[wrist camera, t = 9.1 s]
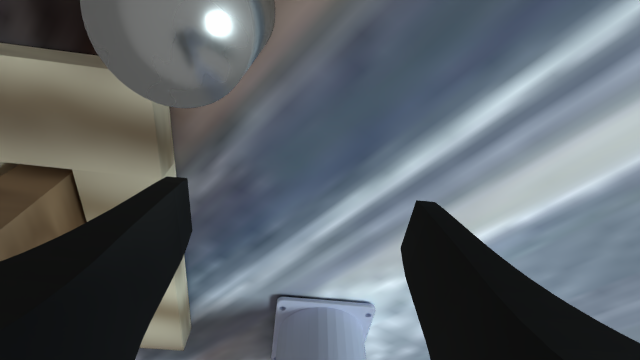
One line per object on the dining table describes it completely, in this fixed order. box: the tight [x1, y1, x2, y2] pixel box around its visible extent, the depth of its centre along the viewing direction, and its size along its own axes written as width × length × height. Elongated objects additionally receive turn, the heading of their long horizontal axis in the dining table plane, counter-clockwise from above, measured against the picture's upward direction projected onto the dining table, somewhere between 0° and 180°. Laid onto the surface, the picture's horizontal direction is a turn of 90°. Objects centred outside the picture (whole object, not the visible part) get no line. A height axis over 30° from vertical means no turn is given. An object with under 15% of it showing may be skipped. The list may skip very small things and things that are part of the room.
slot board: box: [0, 43, 191, 351], centre depth 22 cm, size 22×14×2 cm, turn 172°
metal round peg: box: [80, 0, 275, 108], centre depth 13 cm, size 5×5×7 cm
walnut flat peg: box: [0, 164, 87, 261], centre depth 18 cm, size 5×3×7 cm, turn 172°
